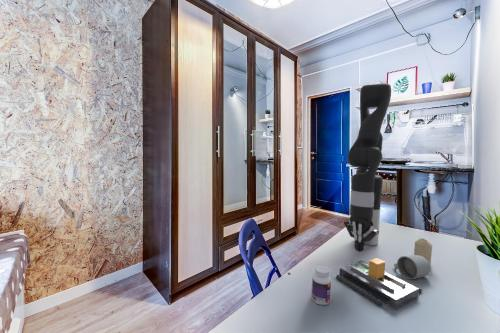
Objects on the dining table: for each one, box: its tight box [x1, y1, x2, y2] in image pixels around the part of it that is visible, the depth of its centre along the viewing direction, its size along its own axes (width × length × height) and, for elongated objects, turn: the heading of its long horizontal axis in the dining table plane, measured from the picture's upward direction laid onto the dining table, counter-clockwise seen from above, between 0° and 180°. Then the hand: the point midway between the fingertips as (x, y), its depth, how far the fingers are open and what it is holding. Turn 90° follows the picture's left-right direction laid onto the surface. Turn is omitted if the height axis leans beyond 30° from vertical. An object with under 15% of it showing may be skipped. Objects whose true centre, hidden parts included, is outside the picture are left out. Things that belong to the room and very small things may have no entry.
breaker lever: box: [368, 257, 386, 279], centre depth 77 cm, size 3×4×5 cm
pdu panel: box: [338, 259, 420, 310], centre depth 78 cm, size 20×12×4 cm, turn 28°
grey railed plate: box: [335, 273, 423, 307], centre depth 78 cm, size 18×19×1 cm
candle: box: [413, 238, 433, 266], centre depth 93 cm, size 6×6×10 cm
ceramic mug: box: [393, 254, 432, 280], centre depth 85 cm, size 11×8×8 cm
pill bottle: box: [311, 265, 332, 306], centre depth 70 cm, size 5×5×10 cm
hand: (359, 250), depth 83 cm, fingers closed
